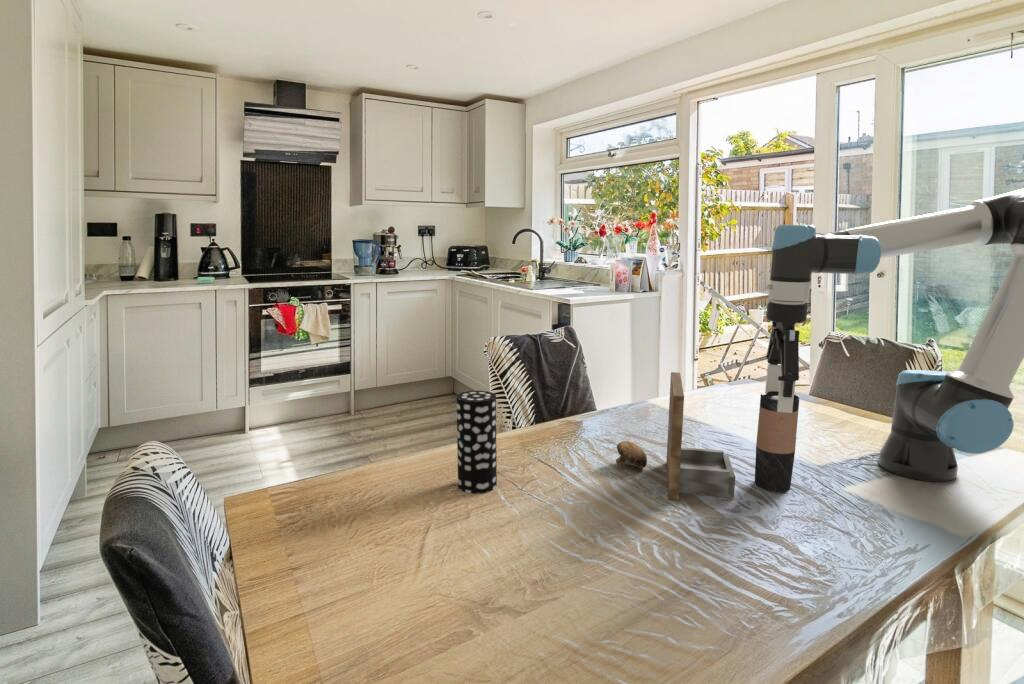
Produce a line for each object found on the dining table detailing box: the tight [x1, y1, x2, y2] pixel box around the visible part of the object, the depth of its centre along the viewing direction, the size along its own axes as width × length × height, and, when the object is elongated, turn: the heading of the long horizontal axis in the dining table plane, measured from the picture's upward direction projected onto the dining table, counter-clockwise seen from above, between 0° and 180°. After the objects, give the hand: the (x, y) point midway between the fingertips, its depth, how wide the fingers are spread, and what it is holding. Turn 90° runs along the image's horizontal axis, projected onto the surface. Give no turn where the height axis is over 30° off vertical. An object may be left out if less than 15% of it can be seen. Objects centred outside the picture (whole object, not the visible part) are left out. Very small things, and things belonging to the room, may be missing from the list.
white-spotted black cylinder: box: [456, 390, 498, 495], centre depth 131 cm, size 8×8×20 cm
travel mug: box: [754, 391, 800, 493], centre depth 131 cm, size 8×8×20 cm
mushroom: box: [615, 440, 648, 469], centre depth 142 cm, size 8×8×6 cm
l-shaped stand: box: [665, 371, 736, 501], centre depth 132 cm, size 13×20×22 cm, turn 167°
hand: (777, 402), depth 129 cm, fingers open, 13 cm apart
